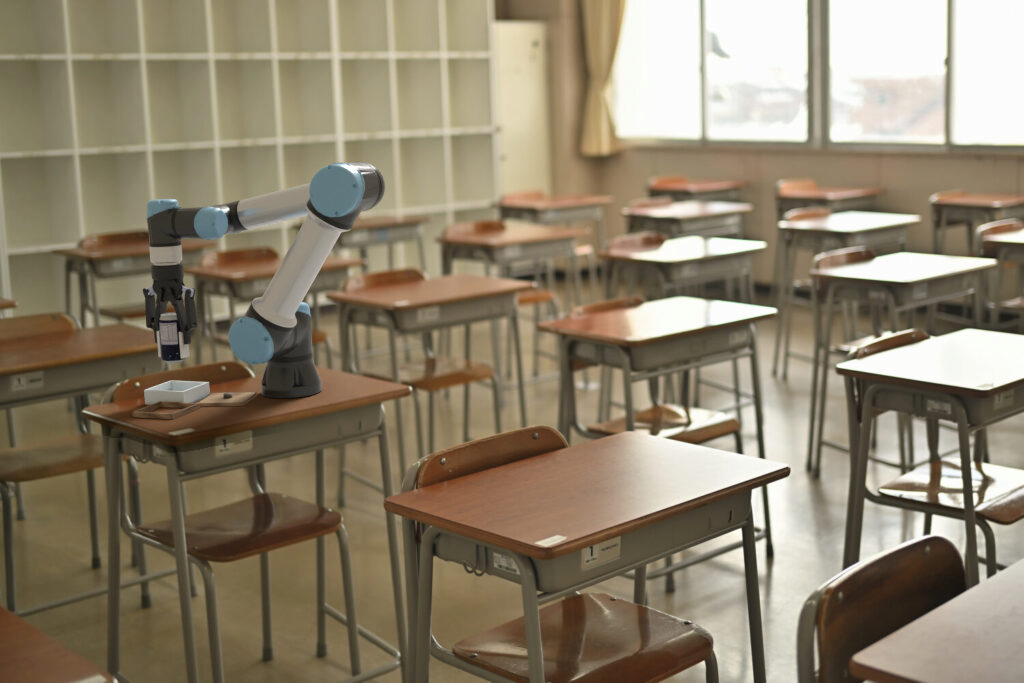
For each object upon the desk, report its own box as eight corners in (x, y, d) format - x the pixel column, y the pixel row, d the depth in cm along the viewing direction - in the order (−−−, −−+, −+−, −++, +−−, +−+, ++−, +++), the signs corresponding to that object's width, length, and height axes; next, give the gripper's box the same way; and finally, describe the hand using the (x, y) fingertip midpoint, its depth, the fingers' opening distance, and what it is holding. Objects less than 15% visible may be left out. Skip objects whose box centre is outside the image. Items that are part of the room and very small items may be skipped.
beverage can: (189, 362, 291) (186, 314, 289) (167, 365, 288) (163, 316, 286) (181, 358, 296) (177, 311, 294) (159, 361, 293) (155, 313, 290)
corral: (200, 408, 284) (200, 403, 284) (173, 419, 274) (172, 414, 274) (160, 405, 288) (160, 401, 288) (132, 416, 277) (131, 411, 277)
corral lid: (256, 395, 296) (256, 388, 296) (243, 405, 285) (243, 398, 285) (212, 395, 297) (212, 388, 297) (198, 406, 286) (197, 399, 286)
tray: (210, 396, 297) (209, 382, 296) (184, 406, 287) (183, 391, 286) (172, 394, 301) (170, 380, 300) (145, 404, 290) (143, 389, 290)
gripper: (208, 261, 288) (215, 355, 292) (143, 260, 294) (151, 352, 298) (191, 265, 281) (198, 361, 285) (124, 264, 287) (132, 358, 291)
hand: (174, 356), depth 292 cm, fingers closed on beverage can, 6 cm apart
